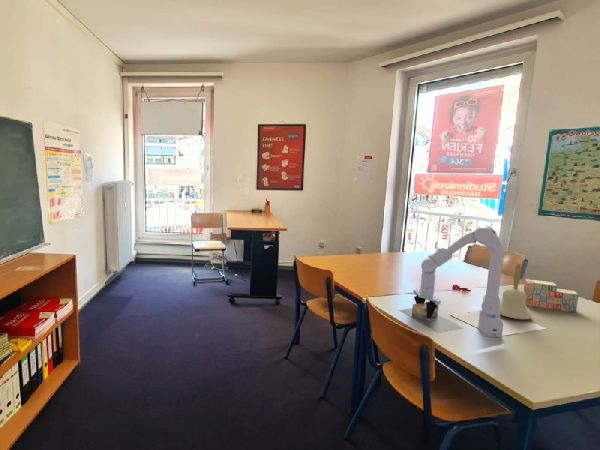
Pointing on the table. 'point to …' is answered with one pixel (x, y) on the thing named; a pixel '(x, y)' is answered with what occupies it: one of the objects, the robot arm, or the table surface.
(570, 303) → the stack of blocks
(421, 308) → the felt eraser
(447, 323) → the slate board
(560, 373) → the table surface
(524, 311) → the handbell
